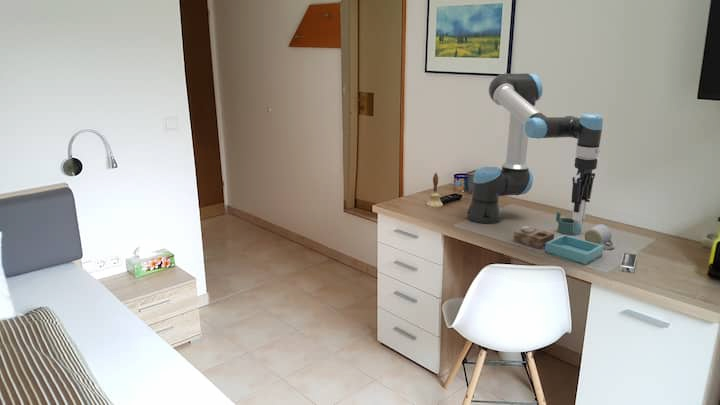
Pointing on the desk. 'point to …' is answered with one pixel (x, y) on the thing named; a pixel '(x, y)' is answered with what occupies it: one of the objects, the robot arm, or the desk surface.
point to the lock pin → (578, 224)
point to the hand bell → (435, 195)
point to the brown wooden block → (533, 237)
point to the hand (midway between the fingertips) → (578, 219)
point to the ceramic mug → (599, 236)
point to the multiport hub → (628, 262)
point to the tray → (574, 249)
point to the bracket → (565, 225)
